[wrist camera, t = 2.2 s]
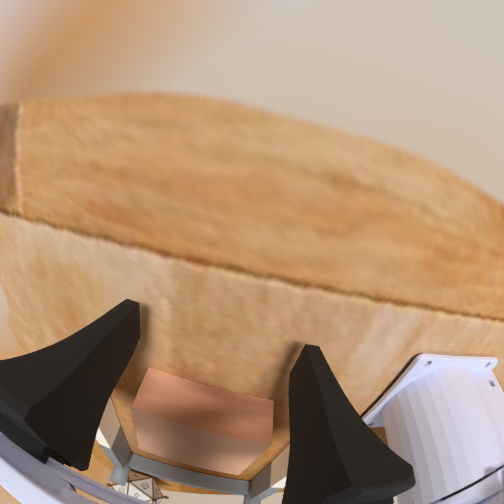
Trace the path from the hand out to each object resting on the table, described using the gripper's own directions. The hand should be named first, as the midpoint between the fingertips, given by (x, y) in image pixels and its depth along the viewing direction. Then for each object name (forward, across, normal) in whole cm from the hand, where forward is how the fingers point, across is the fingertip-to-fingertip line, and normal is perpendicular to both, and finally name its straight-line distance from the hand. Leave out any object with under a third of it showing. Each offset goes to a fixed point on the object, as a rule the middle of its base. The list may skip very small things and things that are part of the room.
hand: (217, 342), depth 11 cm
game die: (+2, +7, +38) cm, 38 cm away
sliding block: (+2, 0, +10) cm, 10 cm away
